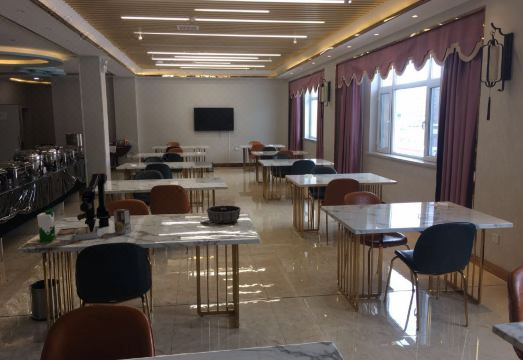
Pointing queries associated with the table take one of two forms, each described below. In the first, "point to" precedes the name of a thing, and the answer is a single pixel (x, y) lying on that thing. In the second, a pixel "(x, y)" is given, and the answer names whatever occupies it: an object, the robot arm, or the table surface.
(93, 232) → the stone
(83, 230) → the tan rectangular block
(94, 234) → the slate bin
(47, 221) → the milk carton
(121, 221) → the coffee box
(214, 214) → the bundt pan
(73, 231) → the walnut caddy
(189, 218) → the table surface
